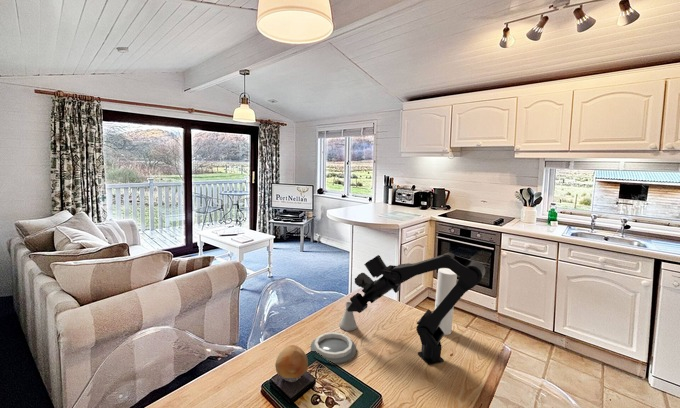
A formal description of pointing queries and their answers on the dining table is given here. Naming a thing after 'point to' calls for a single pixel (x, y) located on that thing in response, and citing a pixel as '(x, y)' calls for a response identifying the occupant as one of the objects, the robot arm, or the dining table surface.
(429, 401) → the dining table surface
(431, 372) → the dining table surface
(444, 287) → the cylindrical container
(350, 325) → the flask
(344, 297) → the dining table surface
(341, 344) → the grey round shallow dish
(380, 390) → the dining table surface
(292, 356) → the onion
